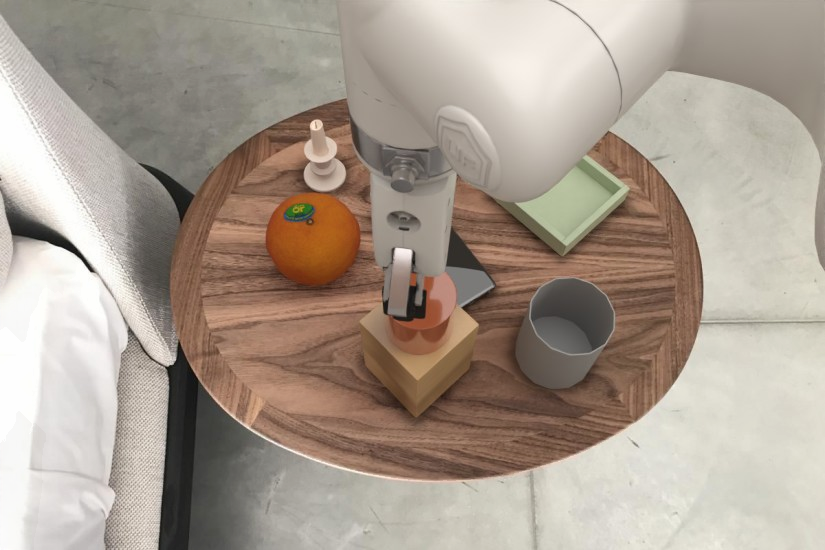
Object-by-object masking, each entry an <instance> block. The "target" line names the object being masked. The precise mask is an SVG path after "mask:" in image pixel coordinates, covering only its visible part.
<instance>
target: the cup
mask: <svg viewBox="0 0 825 550" xmlns="http://www.w3.org/2000/svg"><path fill="white" fill-rule="evenodd" d="M615 331H616V311H615V309H614V307H613V304H612V303H611V300H610V298H609V296H608V295H607V294H606V293H605V292H604V291H602V290H601V289H600V288H599V287H598V286H597V285H596V284H594V283H593V282H590V281H587V280H585V279H582V278H579V277H576V276H568V277H567V276H565V277H555V278H553V279H551V280H549V281H547V282H546V283H544V284H542V285H540V286H539V287H538V289H537V290H536V292H535V293H534V294H533V296H532V298H531V300H529V304H528V306H527V309H526V312H525V315H524V317H523V320H522V324H521V326H520V329H519V332H518V334H517V337H516V342H515V352H514V353H515V354H514V356H515V358H516V361H517V364H518V365H519V368H520V371H521V372H522V373H523V374H524V375H525V376H526V377H527V378H528V379H529V380H530V381H531V382H533V384H536V385H538V386H541V387H543V388H546V389H549V390H562V389H569V388H572V387H573V386H574V385H576V384H578V383H580V382H581V381H583V380H584V379H585V377H586V376H587V374H588V373H589V372H590V370H591V368H592V367H593V365H594V363H595V362H596V361H597V359H598V357H599V356H600V355H601V353H602V351H603V350H604V348H605V347H606V345H607V344H608V343H609V340H610V339H611V337H612V335H613V334H614V332H615Z"/></svg>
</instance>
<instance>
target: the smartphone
mask: <svg viewBox="0 0 825 550" xmlns="http://www.w3.org/2000/svg"><path fill="white" fill-rule="evenodd" d="M413 260H415V252H414V253H413ZM445 272H446V273H447V274H448V275H449V276H450V277H451V279H452V280H453V282H454V284H455V287H456V291H457V304H458V305H459V306H460V307H461V308H462V309H463V310H464V309H465V308H467V307H468V306H470V305H472V304H473V303H475V302H477V301H478V300H480V299H482V298H483V297H485V296H486V295H488V294H490V293H491V292H493V291H494V290H495V289H496V287H497V285H496V283H497V282H496V281H495V280H494V278H493V277H492V276H491V275H490V274H489V272H488V271H487V269H486V268H485V267H484V265H483V264H482V263H481V262H480V261H479V259H477V257H476V255H475V254H474V253H473V252H472V251H471V249H470V248H469V247H468V246H467V244H466V243H465V241H463V239H462V238H461V236H460V235H459V234H458V233H457V232H456V230H455V229H454V228H453V226H452V225H451V231H450V239H449V247H448V254H447V262H446V267H445Z"/></svg>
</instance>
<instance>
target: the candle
mask: <svg viewBox="0 0 825 550" xmlns="http://www.w3.org/2000/svg"><path fill="white" fill-rule="evenodd" d="M309 130H310V131H309V133H310V139H309V140H308V141H306V143H305V144H304V148H303V152H304V153H303V154H304V155H305V157H306V158H307V159H308V160H309V161H310V162H309V163H307V165H306V166H305V168H304V171H303V179H304V182H305V184H306V186H307V187H308V188H309V189H310V190H312V191H314V192H315V193H322V194H329V193H332V192H335V191H337V190H338V189H340V188H341V187H342V186H343V185H344V183H345V182H346V178H347V170H346V167H345V165H344V163H342V161H340V160H339V159H338V158H335V156H336V154H337V152H338V146H337V144H336V142H335V141H334V139H332V138H331V137H328V136H326V133H325V128H324V125H323V121H322V120H321V119H314V120H312V121H311V122H310V124H309Z"/></svg>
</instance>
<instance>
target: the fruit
mask: <svg viewBox="0 0 825 550" xmlns="http://www.w3.org/2000/svg"><path fill="white" fill-rule="evenodd" d="M361 239H362V234H361V228H360V224H359V221H358V220H357V218H356V216H355V215H354V214H353V212H352V211H351V209H350V208H349V207H348V206H347V205H346V204H345V203H344V202H343V201H341V200H340V199H338V198H337V197H335V196H333V195H331V194H329V193H321V192H304V193H303V192H302V193H299V194H295V195H292V196H290V197H288V198H287V199H284V201H282V202H281V203H280V204H279V205H278V206H277V207H276V208H275V209H274V210H273V212H272V214H271V216H270V218H269V221H268V223H267V227H266V231H265V246H266V247H265V248H266V251H267V254H268V255H269V257H270V259H271V261H272V262H273V265H274V266H275V267H276V269H277V270H278V271H279V272H280V273H281V274H282V275H283V276H285V277H286V278H287V279H289V280H292V281H293V282H296V283H299V284H301V285H306V286H312V287H313V286H314V287H316V286H323V285H326V284H329V283H331V282H335V280H338V279H339V278H340V277H342V276H343V275H344V274H345V273H346V272H347V271H349V269H351V267H352V265H353V264H354V263H355V261H356V259H357V256H358V253H359V249H360V246H361V241H362V240H361Z"/></svg>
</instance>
